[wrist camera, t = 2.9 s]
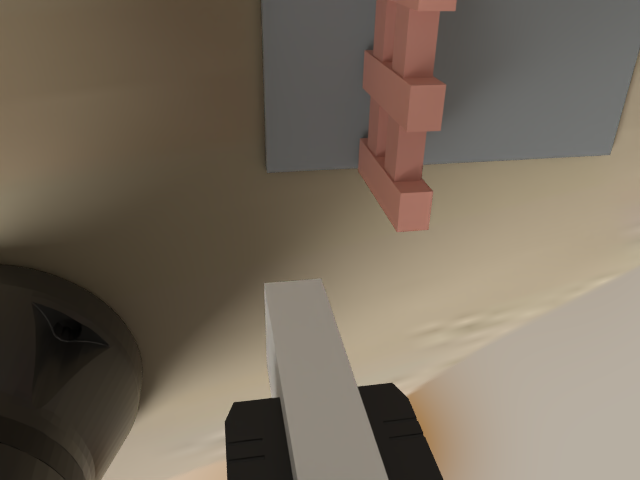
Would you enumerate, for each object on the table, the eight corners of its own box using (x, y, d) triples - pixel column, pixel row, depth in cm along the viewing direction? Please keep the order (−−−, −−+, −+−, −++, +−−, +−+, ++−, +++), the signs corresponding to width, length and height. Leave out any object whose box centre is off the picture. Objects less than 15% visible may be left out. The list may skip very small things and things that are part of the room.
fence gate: (368, -115, 24) (429, -129, 18) (409, -113, 24) (483, -126, 18) (354, 172, 30) (395, 239, 24) (386, 171, 31) (436, 236, 24)
